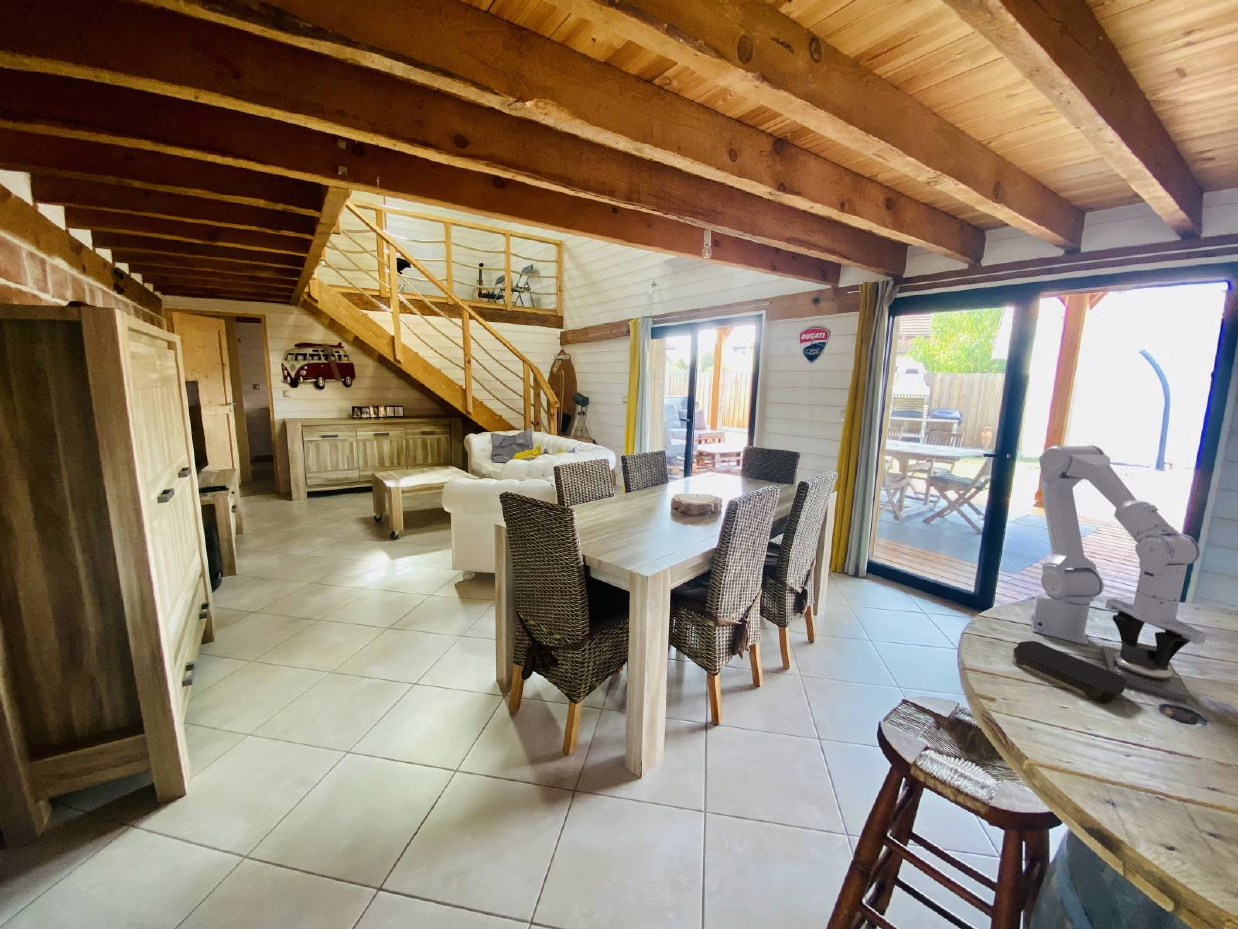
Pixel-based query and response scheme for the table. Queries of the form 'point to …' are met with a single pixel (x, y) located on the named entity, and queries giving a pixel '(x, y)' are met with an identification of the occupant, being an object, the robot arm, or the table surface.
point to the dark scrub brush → (1069, 671)
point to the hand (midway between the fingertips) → (1144, 658)
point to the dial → (1141, 660)
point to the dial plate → (1146, 679)
